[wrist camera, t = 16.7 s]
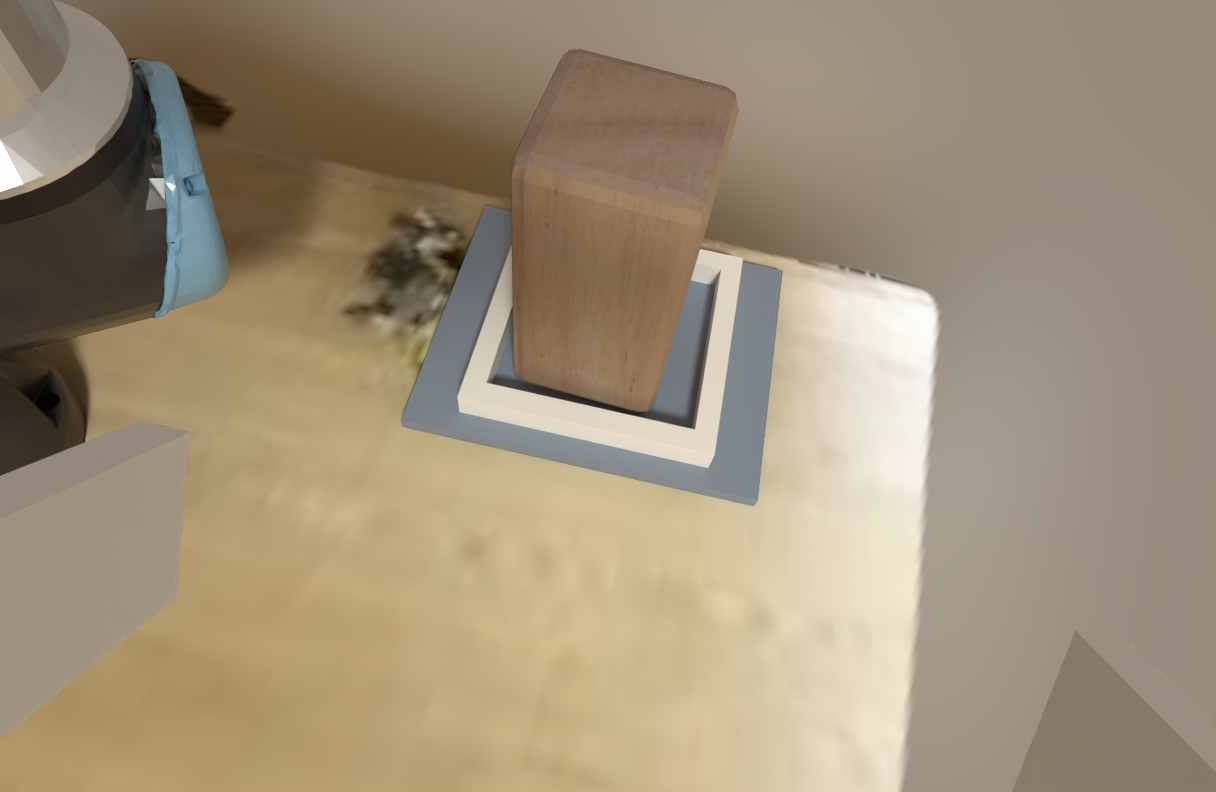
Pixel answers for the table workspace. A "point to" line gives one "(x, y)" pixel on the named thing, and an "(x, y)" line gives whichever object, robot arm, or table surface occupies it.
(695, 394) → the grey square frame tray
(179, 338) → the table surface
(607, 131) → the block
